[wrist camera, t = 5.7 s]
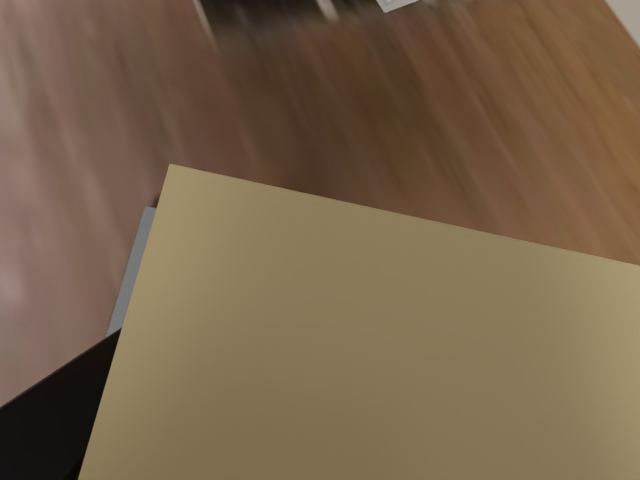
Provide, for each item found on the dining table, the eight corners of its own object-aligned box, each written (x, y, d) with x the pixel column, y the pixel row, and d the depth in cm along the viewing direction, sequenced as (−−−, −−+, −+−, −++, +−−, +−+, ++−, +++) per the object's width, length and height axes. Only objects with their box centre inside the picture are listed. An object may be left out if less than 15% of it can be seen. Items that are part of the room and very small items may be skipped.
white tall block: (332, 486, 14) (692, 938, 3) (190, 465, 14) (-49, 911, 2) (352, 343, 16) (655, 269, 4) (223, 320, 15) (169, 163, 4)
